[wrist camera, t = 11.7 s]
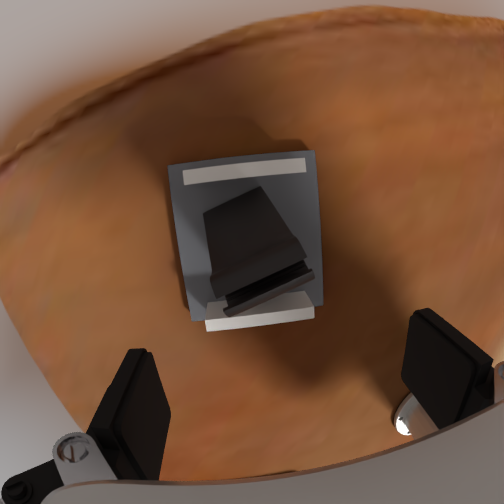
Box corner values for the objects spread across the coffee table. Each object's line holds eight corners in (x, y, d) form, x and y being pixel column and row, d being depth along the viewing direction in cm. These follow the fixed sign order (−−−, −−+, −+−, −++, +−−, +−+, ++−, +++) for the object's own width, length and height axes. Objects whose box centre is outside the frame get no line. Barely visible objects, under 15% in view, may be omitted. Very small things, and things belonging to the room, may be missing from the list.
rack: (310, 151, 30) (327, 147, 24) (319, 299, 34) (334, 322, 28) (170, 165, 29) (157, 164, 24) (193, 315, 33) (187, 340, 28)
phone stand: (297, 268, 31) (334, 323, 19) (242, 293, 31) (250, 360, 20) (260, 185, 29) (281, 194, 17) (202, 212, 29) (184, 239, 17)
